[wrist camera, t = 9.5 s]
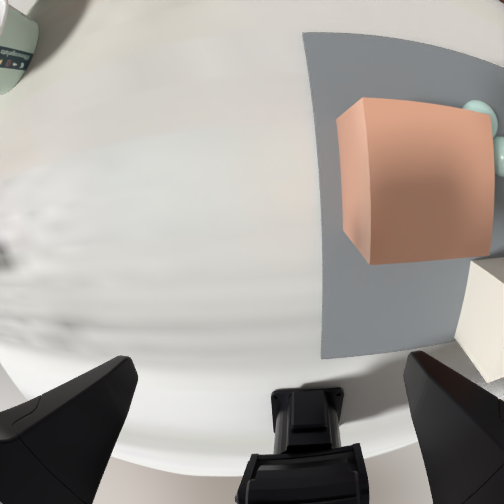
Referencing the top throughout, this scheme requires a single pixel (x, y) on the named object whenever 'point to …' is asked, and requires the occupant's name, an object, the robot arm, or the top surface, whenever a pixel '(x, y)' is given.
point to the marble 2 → (499, 155)
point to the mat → (333, 237)
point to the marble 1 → (483, 108)
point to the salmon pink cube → (416, 180)
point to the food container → (15, 45)
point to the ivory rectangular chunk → (484, 318)
